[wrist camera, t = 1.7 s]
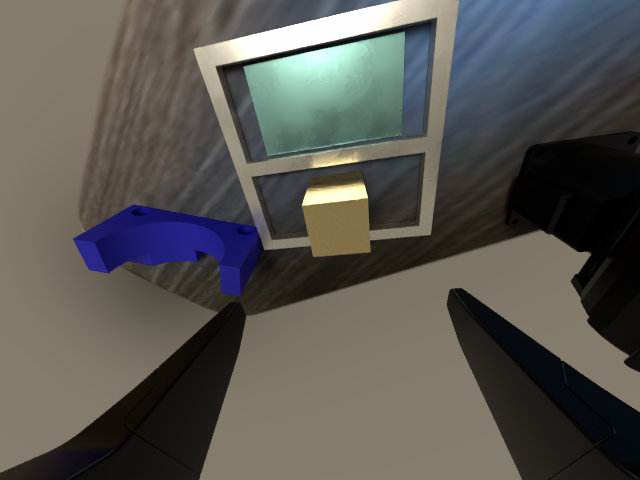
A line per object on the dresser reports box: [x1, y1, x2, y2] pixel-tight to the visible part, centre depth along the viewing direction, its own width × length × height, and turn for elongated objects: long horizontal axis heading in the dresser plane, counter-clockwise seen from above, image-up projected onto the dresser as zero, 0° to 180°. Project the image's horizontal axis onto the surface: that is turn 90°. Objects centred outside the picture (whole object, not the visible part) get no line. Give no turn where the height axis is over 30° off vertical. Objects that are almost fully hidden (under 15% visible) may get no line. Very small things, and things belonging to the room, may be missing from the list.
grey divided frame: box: [193, 0, 459, 250], centre depth 17 cm, size 15×15×1 cm
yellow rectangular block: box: [302, 171, 370, 257], centre depth 17 cm, size 4×4×6 cm
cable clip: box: [73, 205, 261, 296], centre depth 20 cm, size 12×4×6 cm, turn 80°
